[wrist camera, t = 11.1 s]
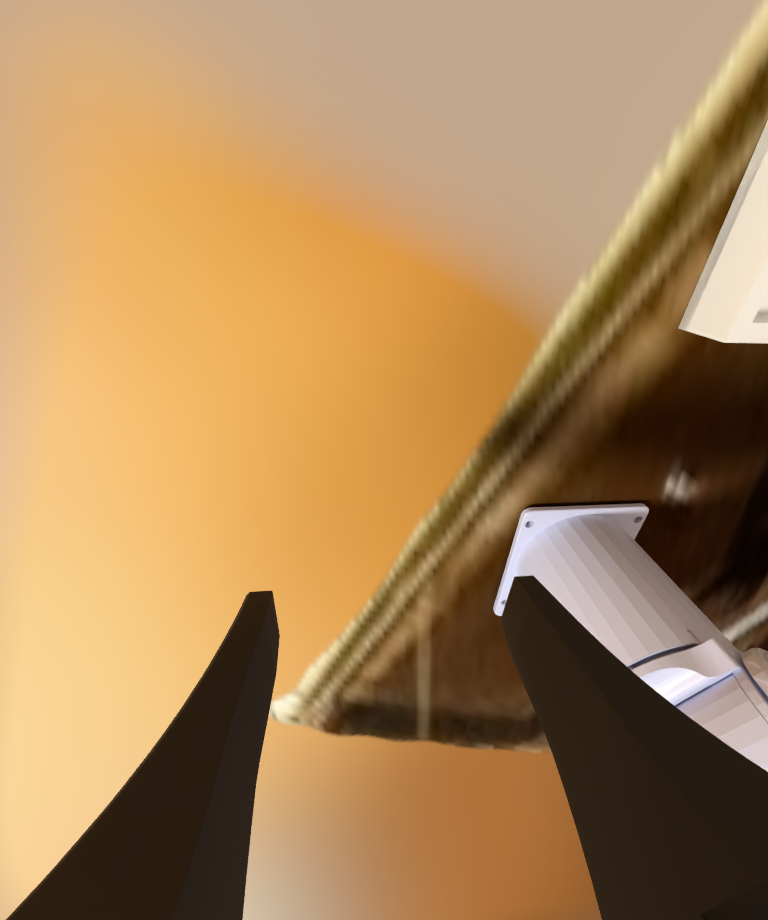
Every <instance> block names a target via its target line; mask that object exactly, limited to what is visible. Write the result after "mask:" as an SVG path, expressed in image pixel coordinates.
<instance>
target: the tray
mask: <svg viewBox="0 0 768 920" xmlns="http://www.w3.org/2000/svg"><path fill="white" fill-rule="evenodd" d="M678 328H679V329H682V330H685V331H688V332H692V333H695V334H698V335H701V336H704V337H708V338H711V339H714V340H717V341H721V342H724V343H768V121H767V123H766V126H765V128H764V130H763V133H762V135H761V137H760V140H759V142H758V144H757V147H756V149H755V151H754V154H753V156H752V158H751V161H750V163H749V165H748V168H747V170H746V172H745V174H744V177H743V179H742V181H741V184H740V186H739V188H738V191H737V193H736V195H735V198H734V200H733V202H732V205H731V207H730V209H729V212H728V214H727V216H726V219H725V221H724V223H723V225H722V228H721V230H720V232H719V235H718V237H717V239H716V242H715V244H714V246H713V249H712V251H711V253H710V256H709V258H708V260H707V263H706V265H705V267H704V270H703V272H702V274H701V276H700V279H699V281H698V283H697V286H696V288H695V290H694V293H693V295H692V297H691V300H690V302H689V304H688V307H687V309H686V311H685V314H684V316H683V318H682V321H681V323H680V325H679V327H678Z"/></svg>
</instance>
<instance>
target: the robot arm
mask: <svg viewBox="0 0 768 920" xmlns="http://www.w3.org/2000/svg"><path fill="white" fill-rule="evenodd" d="M648 512H649V508H648V507H647V506H646V505H644V504H641V503H639V504H612V505H585V506H558V507H531V508H527V509H525V510H524V511H523V512H522V514H521V516H520V520H519V523H518V527H517V530H516V533H515V537H514V540H513V543H512V547H511V550H510V554H509V557H508V560H507V564H506V567H505V570H504V574H503V577H502V581H501V584H500V587H499V591H498V594H497V597H496V601H495V604H494V608H493V610H494V612H495V614H496V615H498V616H502V617H501V622H502V626H503V629H504V633H505V636H506V640H507V643H508V646H509V649H510V652H511V655H512V658H513V660H514V662H515V665H516V667H517V670H518V672H519V674H520V677H521V679H522V681H523V684H524V686H525V688H526V691H527V693H528V695H529V698H530V700H531V702H532V705H533V707H534V709H535V712H536V714H537V716H538V719H539V721H540V723H541V726H542V728H543V730H544V733H545V735H546V738H547V740H548V743H549V745H550V748H551V751H552V753H553V756H554V759H555V762H556V766H557V768H558V771H559V775H560V777H561V781H562V784H563V786H564V789H565V793H566V796H567V799H568V802H569V806H570V809H571V812H572V815H573V818H574V822H575V825H576V828H577V831H578V834H579V838H580V841H581V845H582V848H583V852H584V855H585V859H586V862H587V866H588V869H589V873H590V876H591V879H592V883H593V887H594V891H595V895H596V898H597V902H598V906H599V910H600V914H601V918H602V920H768V652H767V651H765V650H763V649H760V648H751V649H749V650H748V651H746V652H744V653H743V652H741V651H739V650H737V649H736V648H735V647H734V646H733V645H732V643H731V642H730V641H729V640H728V639H727V638H726V637H725V636H724V635H723V634H722V633H721V632H720V631H719V630H718V629H717V628H716V626H715V625H714V624H713V623H712V622H711V621H710V620H709V619H708V618H707V617H706V616H705V615H704V614H703V613H702V612H701V611H700V609H699V608H698V607H697V606H696V605H695V604H694V603H693V602H692V601H691V600H690V599H689V598H688V597H687V596H686V595H685V594H684V592H683V591H682V590H681V589H680V588H679V587H678V586H677V585H676V584H675V583H674V582H673V581H672V580H671V579H670V578H669V577H668V575H667V574H666V573H665V572H664V571H663V570H662V569H661V568H660V567H659V566H658V565H657V564H656V563H655V562H654V561H653V560H652V558H651V557H650V556H649V555H648V554H647V553H646V552H645V551H644V550H643V549H642V548H641V547H640V546H639V545H638V544H637V542H636V541H635V538H636V536H637V534H638V532H639V530H640V528H641V526H642V524H643V522H644V520H645V518H646V517H647V515H648ZM529 521H530V522H529ZM527 522H529V523H527ZM278 647H279V629H278V623H277V617H276V610H275V605H274V598H273V592H272V591H260V592H250V593H249V594H247V595H246V598H245V600H244V602H243V604H242V606H241V608H240V610H239V612H238V614H237V616H236V618H235V620H234V622H233V624H232V626H231V628H230V629H229V631H228V633H227V635H226V637H225V639H224V641H223V642H222V644H221V646H220V647H219V649H218V651H217V653H216V654H215V656H214V658H213V659H212V661H211V663H210V664H209V666H208V668H207V669H206V671H205V673H204V674H203V676H202V677H201V679H200V680H199V682H198V684H197V685H196V687H195V688H194V690H193V691H192V693H191V694H190V696H189V697H188V699H187V700H186V702H185V703H184V705H183V707H182V708H181V710H180V711H179V712H178V714H177V716H176V717H175V718H174V720H173V721H172V722H171V724H170V725H169V727H168V728H167V730H166V731H165V733H164V734H163V735H162V736H161V738H160V739H159V741H158V742H157V743H156V745H155V746H154V747H153V749H152V750H151V752H150V753H149V754H148V755H147V757H146V758H145V759H144V761H143V762H142V763H141V764H140V766H139V767H138V768H137V769H136V771H135V772H134V773H133V775H132V776H131V777H130V778H129V780H128V781H127V782H126V784H125V785H124V786H123V787H122V789H121V790H120V791H119V792H118V793H117V795H116V796H115V797H114V798H113V800H112V801H111V802H110V803H109V805H108V806H107V807H106V808H105V809H104V811H103V812H102V813H101V814H100V815H99V817H98V818H97V819H96V820H95V821H94V822H93V823H92V825H91V826H90V827H89V828H88V829H87V830H86V832H85V833H84V834H83V835H82V836H81V837H80V838H79V840H78V841H77V842H76V843H75V844H74V845H73V846H72V848H71V849H70V850H69V851H68V852H67V853H66V855H65V856H64V857H63V858H62V859H61V860H60V862H59V863H58V864H57V865H56V866H55V867H54V869H52V871H51V872H50V873H49V874H48V875H47V876H46V877H45V878H44V880H43V881H42V882H41V883H40V884H39V885H38V886H37V887H36V888H35V889H34V890H33V891H32V892H31V893H30V895H29V896H28V897H27V898H26V899H25V900H24V901H23V902H22V903H21V904H20V905H19V906H18V907H17V908H16V910H15V911H14V912H13V913H12V914H11V915H10V916H9V917H8V918H7V919H6V920H242V918H243V906H244V896H245V885H246V875H247V864H248V855H249V845H250V835H251V825H252V816H253V807H254V798H255V789H256V781H257V775H258V768H259V762H260V757H261V751H262V746H263V741H264V736H265V730H266V725H267V720H268V714H269V709H270V704H271V699H272V693H273V687H274V682H275V677H276V669H277V659H278Z"/></svg>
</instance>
